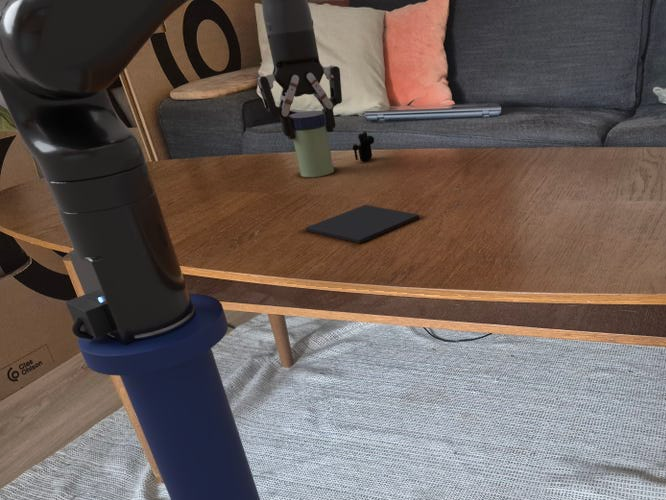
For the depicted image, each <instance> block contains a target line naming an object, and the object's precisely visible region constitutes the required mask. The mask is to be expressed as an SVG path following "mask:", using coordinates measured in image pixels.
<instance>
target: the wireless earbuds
mask: <svg viewBox="0 0 666 500" xmlns="http://www.w3.org/2000/svg"><path fill="white" fill-rule="evenodd" d="M357 139H358V140H359V144H356V143H355V144H354V143H353V145H352V150H353V153H354V158H355V160H356V161H359V159H360V161H361V162H363V163H365V162H366V161H369V160H371V159H372V157H373V152H372V151H373V150H372V144H374V142H375V137H374V136H372V135H368V133H367V132H366V131H363V132H362V133H359V134H358V135H357ZM358 155H359V156H358Z"/></svg>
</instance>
